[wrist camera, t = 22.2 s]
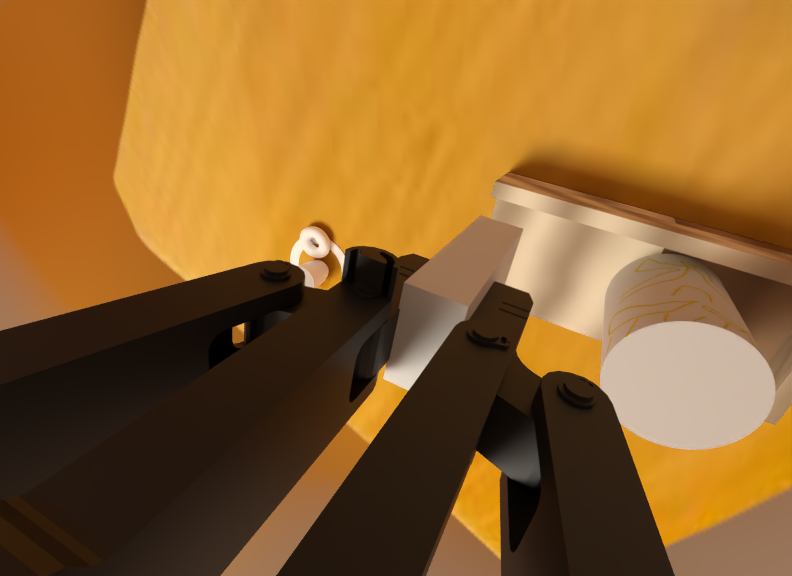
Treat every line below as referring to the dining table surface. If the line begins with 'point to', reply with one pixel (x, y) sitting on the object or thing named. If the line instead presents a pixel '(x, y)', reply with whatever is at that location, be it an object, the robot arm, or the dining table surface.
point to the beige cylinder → (681, 356)
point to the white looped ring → (315, 255)
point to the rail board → (628, 241)
